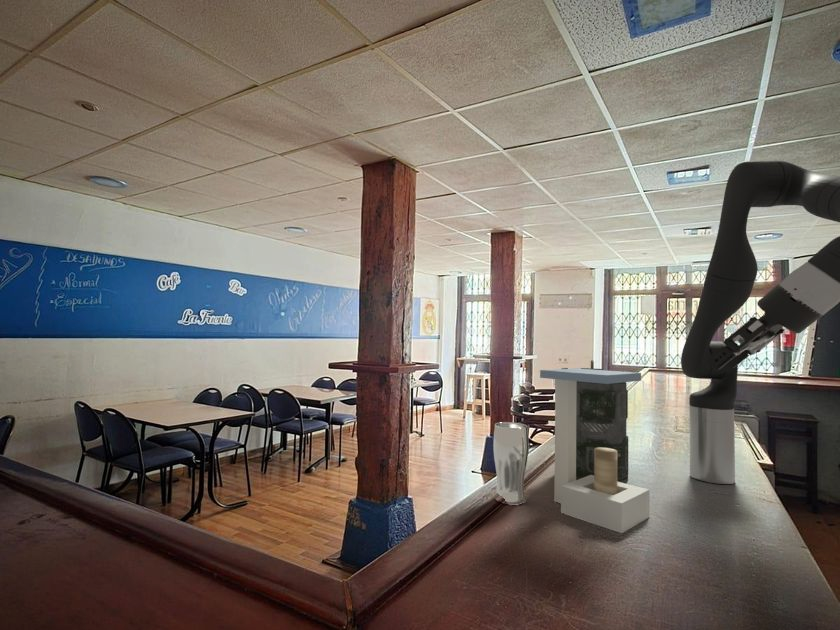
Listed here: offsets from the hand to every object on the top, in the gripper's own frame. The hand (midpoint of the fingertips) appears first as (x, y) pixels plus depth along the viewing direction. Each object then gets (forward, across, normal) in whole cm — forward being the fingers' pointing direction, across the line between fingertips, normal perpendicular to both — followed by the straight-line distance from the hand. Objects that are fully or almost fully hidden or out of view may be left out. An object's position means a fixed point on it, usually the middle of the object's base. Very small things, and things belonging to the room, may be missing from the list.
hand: (719, 365), depth 80 cm
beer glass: (+43, +17, -2) cm, 47 cm away
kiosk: (+33, +9, +7) cm, 35 cm away
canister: (+41, -10, 0) cm, 42 cm away
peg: (+32, +9, +9) cm, 34 cm away
